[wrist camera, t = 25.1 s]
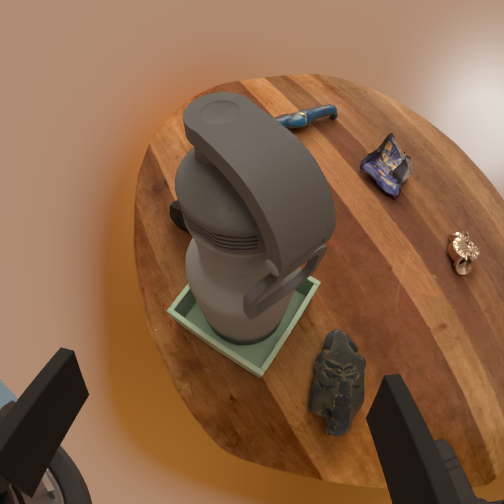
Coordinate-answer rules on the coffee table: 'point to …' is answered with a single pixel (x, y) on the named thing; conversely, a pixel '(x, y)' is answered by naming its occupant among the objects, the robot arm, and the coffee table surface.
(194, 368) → the coffee table surface
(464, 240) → the ornament
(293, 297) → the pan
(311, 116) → the blue long piece
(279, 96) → the coffee table surface
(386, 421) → the robot arm
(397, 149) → the snack package
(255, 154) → the water bottle
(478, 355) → the coffee table surface
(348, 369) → the stone
